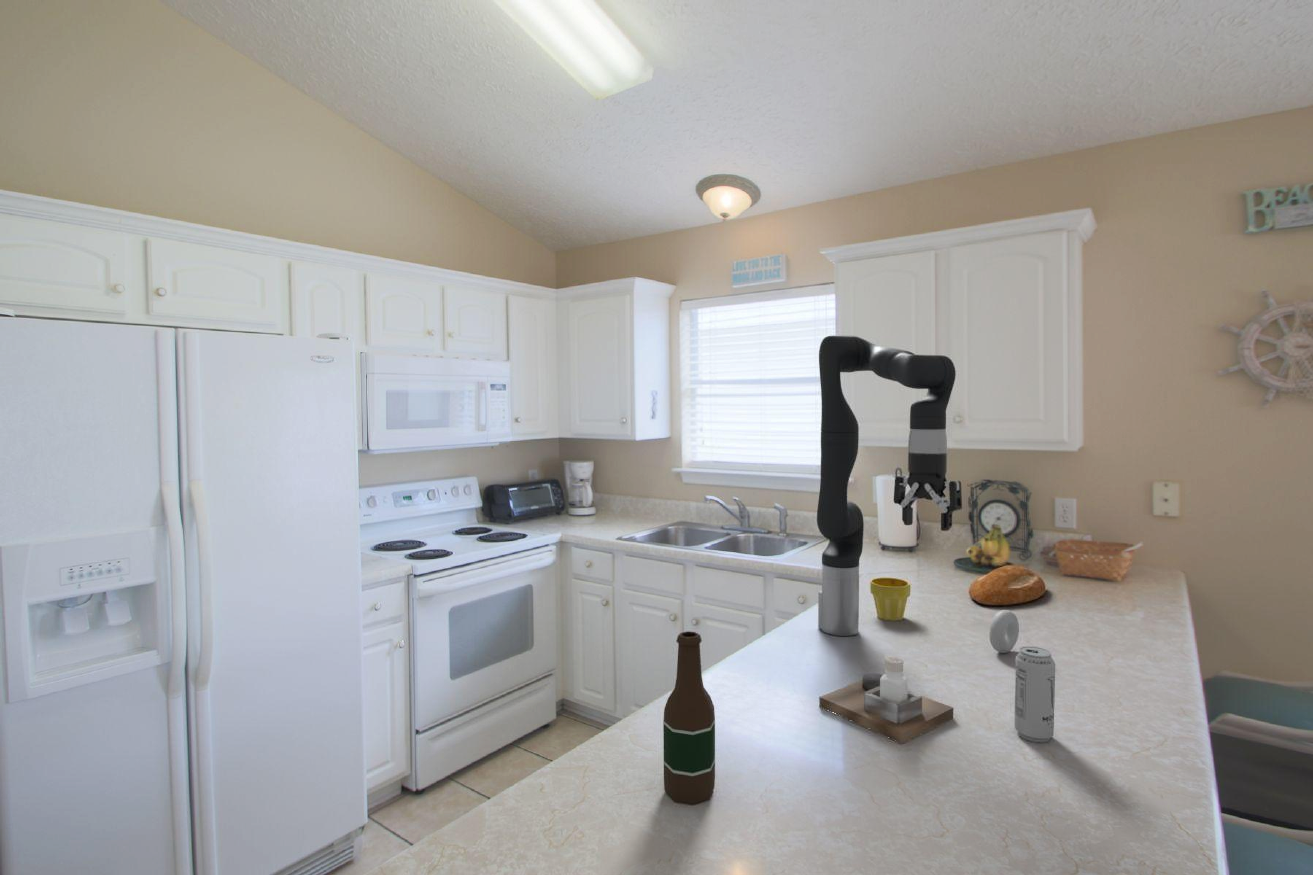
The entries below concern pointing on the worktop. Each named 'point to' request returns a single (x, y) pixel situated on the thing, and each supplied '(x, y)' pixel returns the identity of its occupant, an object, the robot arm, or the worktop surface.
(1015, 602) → the bread
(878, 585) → the plant pot
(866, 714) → the carrier board
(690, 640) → the beer bottle
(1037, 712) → the energy drink can
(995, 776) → the worktop surface
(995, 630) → the donut
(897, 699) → the salt shaker
